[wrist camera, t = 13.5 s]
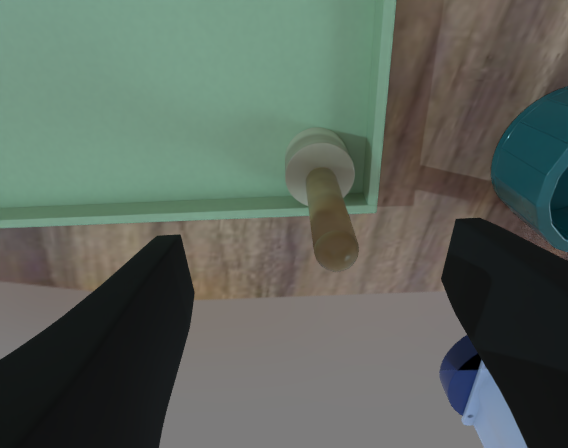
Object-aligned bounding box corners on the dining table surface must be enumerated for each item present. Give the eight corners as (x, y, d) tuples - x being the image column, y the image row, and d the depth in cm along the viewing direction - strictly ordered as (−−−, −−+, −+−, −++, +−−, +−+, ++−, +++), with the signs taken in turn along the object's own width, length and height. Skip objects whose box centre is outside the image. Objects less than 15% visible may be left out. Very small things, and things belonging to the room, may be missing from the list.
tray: (368, 196, 20) (376, 213, 19) (-65, 214, 21) (-96, 232, 19) (393, -110, 14) (409, -128, 12) (-238, -72, 14) (-309, -84, 13)
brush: (345, 185, 19) (387, 301, 12) (286, 187, 20) (288, 304, 12) (348, 125, 18) (399, 213, 10) (283, 128, 18) (283, 218, 10)
